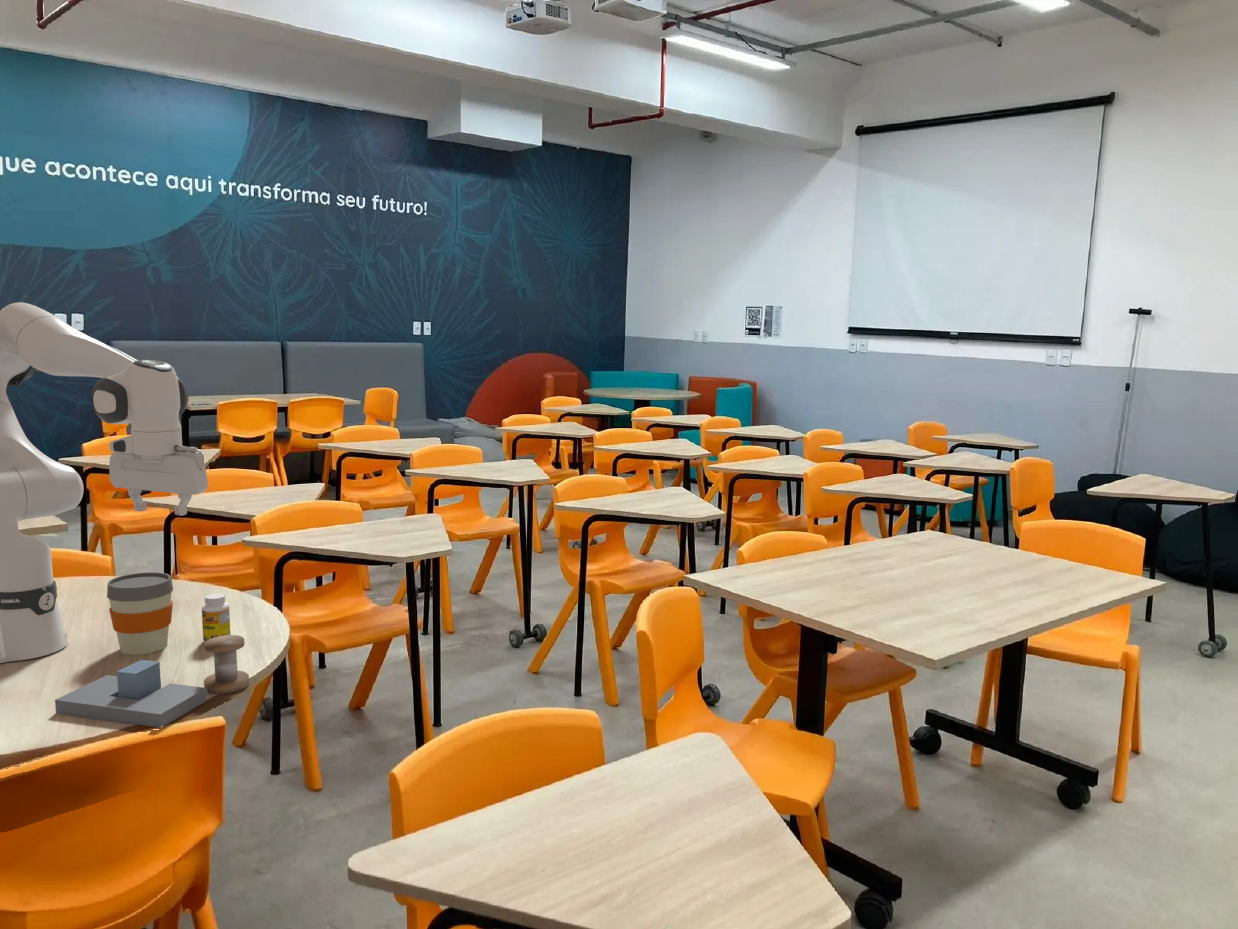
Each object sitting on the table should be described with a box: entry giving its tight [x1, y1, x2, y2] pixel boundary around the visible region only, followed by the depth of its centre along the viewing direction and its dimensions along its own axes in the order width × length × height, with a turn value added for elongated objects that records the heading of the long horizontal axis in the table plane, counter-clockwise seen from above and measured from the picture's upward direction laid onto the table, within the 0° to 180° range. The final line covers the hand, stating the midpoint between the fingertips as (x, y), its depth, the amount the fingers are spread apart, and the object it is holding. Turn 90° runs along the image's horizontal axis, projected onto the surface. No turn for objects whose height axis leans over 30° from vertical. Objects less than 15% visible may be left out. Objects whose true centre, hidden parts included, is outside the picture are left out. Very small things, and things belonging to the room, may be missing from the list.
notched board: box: [54, 674, 208, 728], centre depth 167 cm, size 22×12×2 cm, turn 76°
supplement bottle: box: [201, 593, 232, 643], centre depth 201 cm, size 6×6×10 cm
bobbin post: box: [203, 634, 250, 695], centre depth 177 cm, size 8×8×9 cm
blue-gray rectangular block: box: [116, 659, 162, 700], centre depth 169 cm, size 4×6×7 cm, turn 166°
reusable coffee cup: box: [106, 571, 174, 656], centre depth 196 cm, size 12×13×15 cm
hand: (160, 512), depth 182 cm, fingers open, 8 cm apart
